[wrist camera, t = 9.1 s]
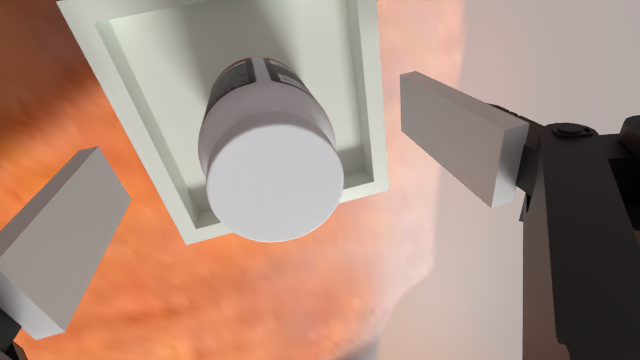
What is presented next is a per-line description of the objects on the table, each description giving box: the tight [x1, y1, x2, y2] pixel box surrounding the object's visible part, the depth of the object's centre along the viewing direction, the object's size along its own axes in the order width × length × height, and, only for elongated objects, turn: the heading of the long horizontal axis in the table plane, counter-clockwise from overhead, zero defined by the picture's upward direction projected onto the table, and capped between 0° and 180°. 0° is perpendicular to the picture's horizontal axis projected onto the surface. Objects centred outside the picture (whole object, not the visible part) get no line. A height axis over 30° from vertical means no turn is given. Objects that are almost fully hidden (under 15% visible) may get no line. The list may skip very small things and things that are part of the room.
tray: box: [56, 0, 389, 245], centre depth 19 cm, size 14×14×2 cm
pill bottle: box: [198, 57, 344, 242], centre depth 15 cm, size 6×6×10 cm
